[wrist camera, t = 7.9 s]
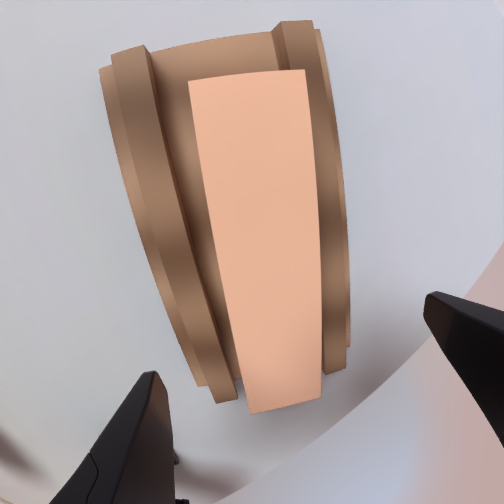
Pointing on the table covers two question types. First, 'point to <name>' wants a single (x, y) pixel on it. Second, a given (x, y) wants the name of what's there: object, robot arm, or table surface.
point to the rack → (193, 192)
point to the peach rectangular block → (265, 227)
